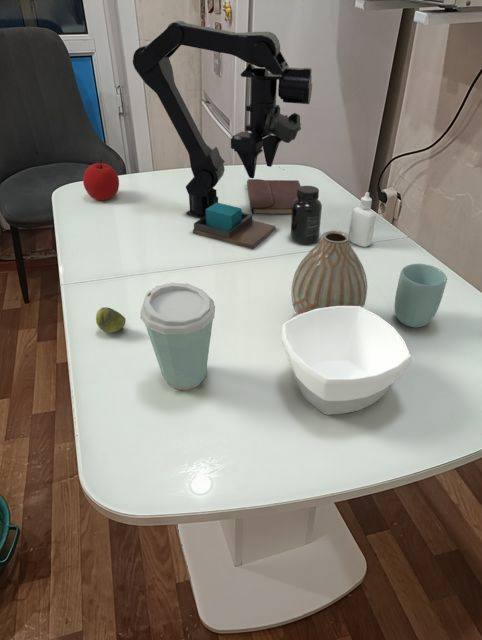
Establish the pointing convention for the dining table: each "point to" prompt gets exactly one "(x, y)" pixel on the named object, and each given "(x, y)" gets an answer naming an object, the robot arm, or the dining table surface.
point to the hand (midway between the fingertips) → (260, 172)
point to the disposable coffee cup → (179, 331)
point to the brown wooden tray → (237, 231)
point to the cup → (419, 294)
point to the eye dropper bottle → (362, 223)
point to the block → (223, 216)
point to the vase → (329, 276)
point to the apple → (101, 181)
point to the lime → (109, 320)
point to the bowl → (343, 357)
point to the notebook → (272, 195)
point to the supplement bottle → (306, 216)
